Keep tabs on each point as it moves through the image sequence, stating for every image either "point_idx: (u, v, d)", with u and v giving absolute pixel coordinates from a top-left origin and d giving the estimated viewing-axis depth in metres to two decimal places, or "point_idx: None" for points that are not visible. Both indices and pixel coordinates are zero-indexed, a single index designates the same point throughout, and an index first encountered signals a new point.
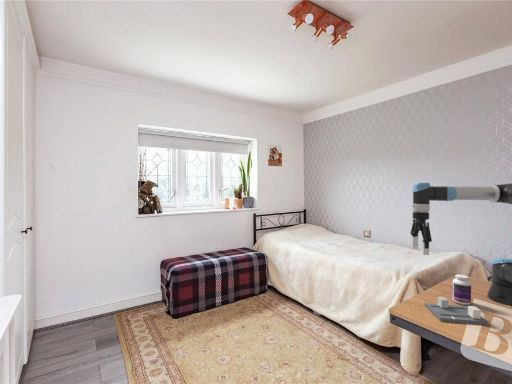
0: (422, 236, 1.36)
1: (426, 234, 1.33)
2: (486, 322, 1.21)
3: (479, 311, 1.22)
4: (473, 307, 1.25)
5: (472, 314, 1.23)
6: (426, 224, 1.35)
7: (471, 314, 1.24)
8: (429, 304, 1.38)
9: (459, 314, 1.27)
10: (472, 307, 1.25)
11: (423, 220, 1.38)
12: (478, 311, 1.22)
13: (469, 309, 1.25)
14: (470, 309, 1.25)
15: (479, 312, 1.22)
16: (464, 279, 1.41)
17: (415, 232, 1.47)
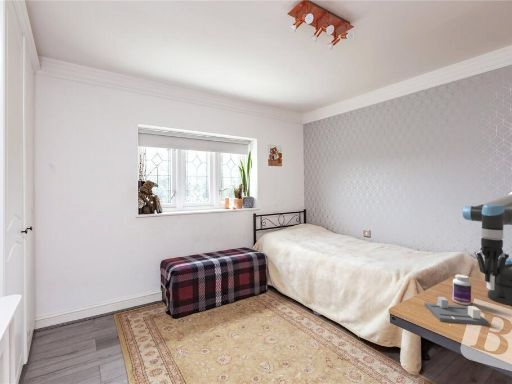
0: None
1: (479, 265, 1.24)
2: (486, 322, 1.21)
3: (479, 311, 1.22)
4: (473, 307, 1.25)
5: (472, 314, 1.23)
6: (476, 255, 1.24)
7: (471, 314, 1.24)
8: (429, 304, 1.38)
9: (459, 314, 1.27)
10: (472, 307, 1.25)
11: None
12: (478, 311, 1.22)
13: (469, 309, 1.25)
14: (470, 309, 1.25)
15: (479, 312, 1.22)
16: (464, 279, 1.41)
17: (492, 266, 1.23)
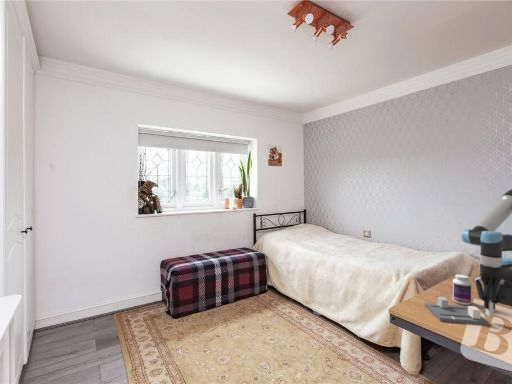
0: None
1: (478, 292, 1.24)
2: (486, 322, 1.21)
3: (479, 311, 1.22)
4: (473, 307, 1.25)
5: (472, 314, 1.23)
6: (475, 281, 1.24)
7: (471, 314, 1.24)
8: (429, 304, 1.38)
9: (459, 314, 1.27)
10: (472, 307, 1.25)
11: (479, 275, 1.24)
12: (478, 311, 1.22)
13: (469, 309, 1.25)
14: (470, 309, 1.25)
15: (479, 312, 1.22)
16: (464, 279, 1.41)
17: (490, 293, 1.23)
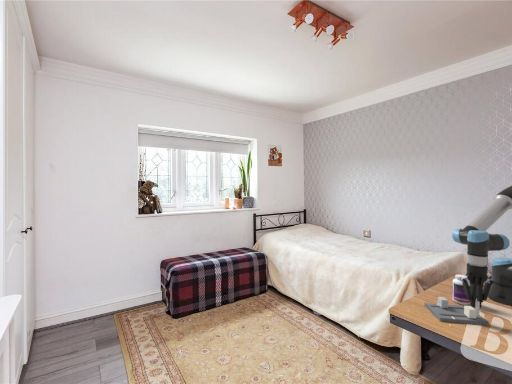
0: None
1: (465, 290, 1.25)
2: (486, 322, 1.21)
3: (475, 311, 1.22)
4: (469, 306, 1.25)
5: (468, 314, 1.24)
6: (462, 280, 1.25)
7: (467, 314, 1.24)
8: (429, 304, 1.38)
9: (459, 314, 1.27)
10: (468, 307, 1.25)
11: None
12: (474, 311, 1.23)
13: (465, 309, 1.26)
14: (466, 309, 1.25)
15: (475, 311, 1.23)
16: None
17: (477, 292, 1.24)
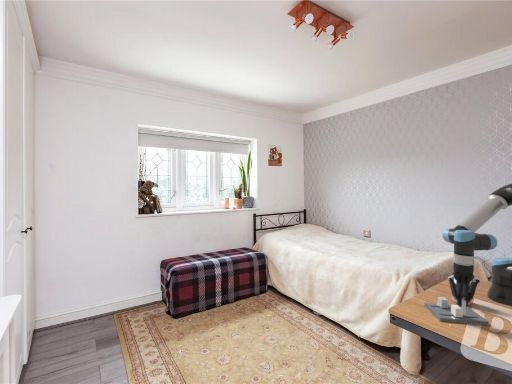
0: None
1: (451, 290, 1.26)
2: (486, 322, 1.21)
3: (461, 310, 1.23)
4: (456, 305, 1.26)
5: (455, 313, 1.25)
6: (449, 280, 1.26)
7: (454, 313, 1.25)
8: (429, 304, 1.38)
9: None
10: (455, 306, 1.26)
11: None
12: (460, 310, 1.24)
13: (452, 308, 1.27)
14: (453, 308, 1.26)
15: (461, 310, 1.23)
16: None
17: (463, 291, 1.25)
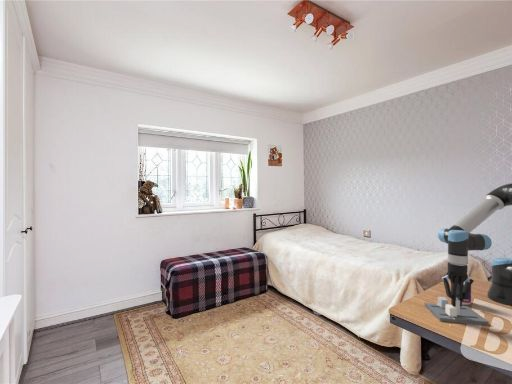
0: None
1: (445, 289, 1.27)
2: (486, 322, 1.21)
3: (455, 309, 1.24)
4: (450, 305, 1.27)
5: (449, 312, 1.25)
6: (443, 280, 1.26)
7: (448, 312, 1.26)
8: (429, 304, 1.38)
9: (459, 314, 1.27)
10: (449, 305, 1.27)
11: None
12: (455, 309, 1.24)
13: (446, 307, 1.27)
14: (447, 307, 1.26)
15: (455, 310, 1.24)
16: None
17: (457, 291, 1.26)
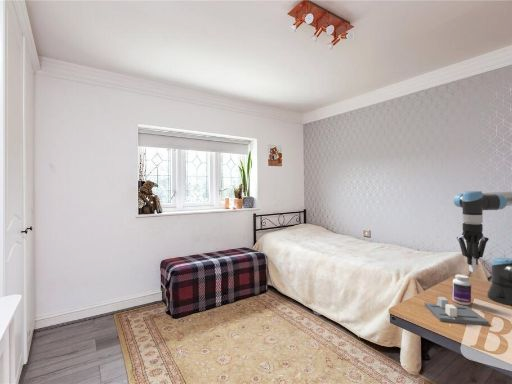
0: None
1: (461, 249, 1.30)
2: (486, 322, 1.21)
3: (455, 309, 1.24)
4: (450, 305, 1.27)
5: (449, 312, 1.25)
6: (459, 240, 1.30)
7: (448, 312, 1.26)
8: (429, 304, 1.38)
9: (459, 314, 1.27)
10: (449, 305, 1.27)
11: None
12: (455, 309, 1.24)
13: (446, 307, 1.27)
14: (447, 307, 1.26)
15: (455, 310, 1.24)
16: (464, 279, 1.41)
17: (473, 250, 1.29)
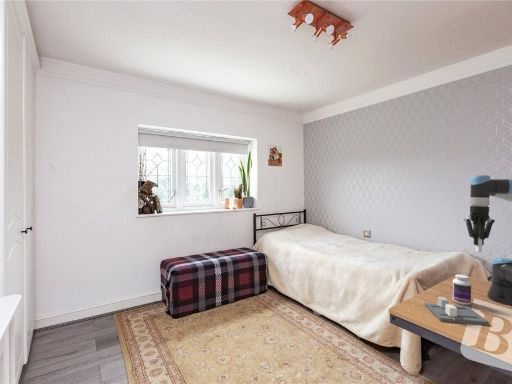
0: None
1: (468, 230, 1.38)
2: (486, 322, 1.21)
3: (455, 309, 1.24)
4: (450, 305, 1.27)
5: (449, 312, 1.25)
6: (466, 221, 1.37)
7: (448, 312, 1.26)
8: (429, 304, 1.38)
9: (459, 314, 1.27)
10: (449, 305, 1.27)
11: None
12: (455, 309, 1.24)
13: (446, 307, 1.27)
14: (447, 307, 1.26)
15: (455, 310, 1.24)
16: (464, 279, 1.41)
17: (479, 231, 1.36)
